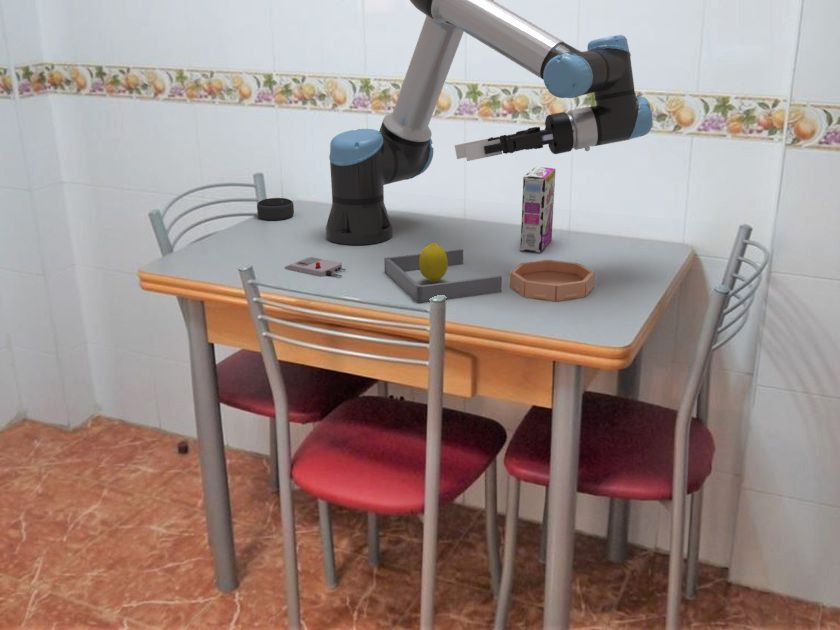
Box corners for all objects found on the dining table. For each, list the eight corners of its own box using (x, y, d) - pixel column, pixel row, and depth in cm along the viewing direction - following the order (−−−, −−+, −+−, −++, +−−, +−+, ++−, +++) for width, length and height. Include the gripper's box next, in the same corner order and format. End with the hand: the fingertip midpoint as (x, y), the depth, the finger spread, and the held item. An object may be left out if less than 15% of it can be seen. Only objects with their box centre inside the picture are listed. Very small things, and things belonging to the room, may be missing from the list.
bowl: (499, 280, 182) (499, 265, 181) (567, 271, 186) (568, 256, 185) (534, 304, 169) (534, 289, 167) (606, 294, 173) (607, 279, 172)
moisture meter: (299, 261, 196) (298, 248, 195) (358, 273, 188) (357, 259, 187) (277, 269, 191) (276, 255, 190) (337, 282, 183) (336, 268, 182)
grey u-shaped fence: (384, 272, 187) (384, 257, 186) (461, 262, 193) (461, 248, 192) (417, 302, 170) (417, 287, 169) (501, 291, 175) (501, 276, 174)
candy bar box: (542, 254, 198) (545, 178, 192) (519, 251, 199) (521, 176, 194) (553, 240, 208) (556, 167, 202) (531, 238, 209) (533, 165, 203)
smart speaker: (264, 212, 234) (263, 196, 233) (298, 213, 233) (297, 197, 232) (252, 221, 226) (251, 205, 225) (288, 222, 225) (287, 206, 223)
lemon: (448, 287, 178) (448, 247, 175) (419, 287, 178) (418, 247, 175) (447, 277, 183) (447, 238, 181) (419, 278, 183) (418, 239, 181)
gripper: (590, 152, 165) (474, 175, 164) (557, 149, 190) (455, 170, 188) (584, 109, 164) (466, 132, 163) (551, 112, 188) (449, 133, 187)
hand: (460, 152), depth 176 cm, fingers open, 13 cm apart
